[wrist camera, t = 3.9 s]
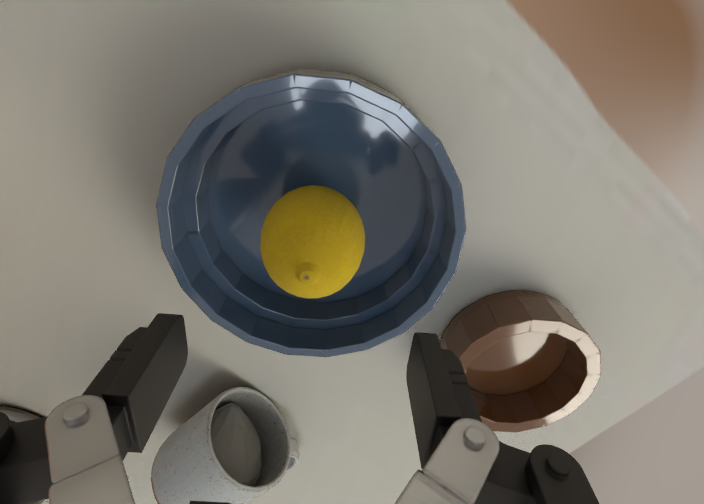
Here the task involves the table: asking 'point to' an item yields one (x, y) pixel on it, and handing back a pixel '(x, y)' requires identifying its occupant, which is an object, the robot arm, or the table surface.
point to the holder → (523, 359)
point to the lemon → (312, 241)
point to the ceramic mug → (225, 452)
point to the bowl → (303, 170)
